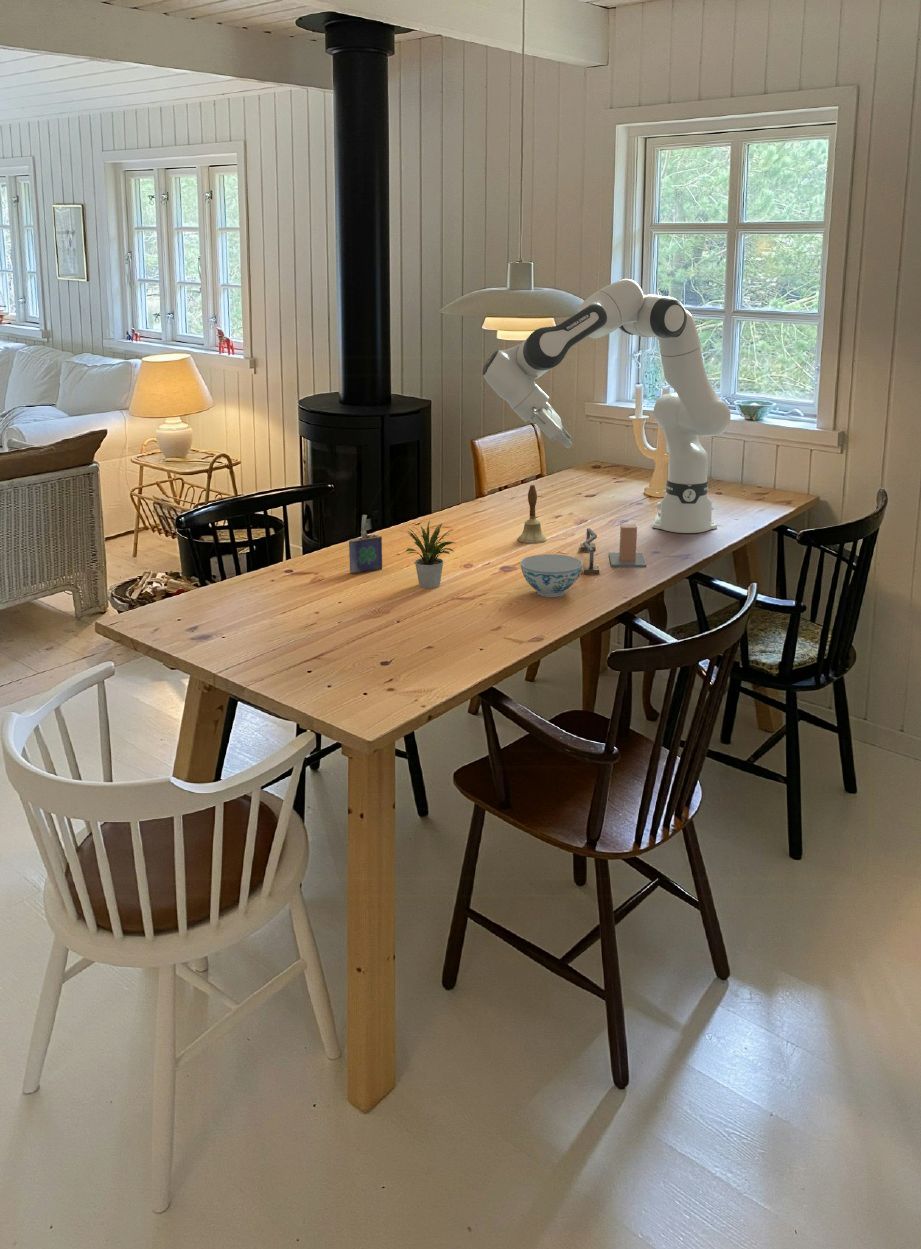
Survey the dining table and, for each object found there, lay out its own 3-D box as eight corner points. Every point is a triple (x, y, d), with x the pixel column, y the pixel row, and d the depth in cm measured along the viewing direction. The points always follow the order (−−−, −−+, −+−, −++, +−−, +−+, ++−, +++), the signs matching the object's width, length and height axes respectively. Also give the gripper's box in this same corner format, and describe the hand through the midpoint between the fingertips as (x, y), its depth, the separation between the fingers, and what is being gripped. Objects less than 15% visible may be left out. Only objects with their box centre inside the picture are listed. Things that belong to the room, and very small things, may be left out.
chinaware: (587, 601, 260) (588, 570, 258) (524, 603, 259) (524, 572, 257) (575, 582, 275) (576, 553, 272) (516, 584, 273) (516, 555, 271)
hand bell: (544, 544, 310) (545, 488, 304) (515, 543, 311) (516, 487, 306) (548, 536, 317) (549, 482, 312) (520, 535, 319) (520, 481, 314)
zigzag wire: (580, 547, 306) (581, 526, 304) (594, 547, 306) (595, 526, 304) (583, 574, 281) (584, 551, 279) (599, 574, 281) (600, 551, 279)
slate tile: (608, 554, 299) (609, 552, 299) (642, 554, 298) (642, 552, 298) (611, 566, 287) (611, 564, 287) (646, 567, 287) (646, 565, 287)
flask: (352, 575, 283) (350, 534, 279) (347, 572, 285) (345, 532, 282) (384, 569, 287) (383, 530, 284) (379, 567, 290) (378, 527, 286)
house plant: (409, 598, 264) (407, 532, 259) (389, 582, 276) (387, 519, 271) (463, 590, 270) (462, 525, 264) (441, 575, 282) (440, 513, 276)
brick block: (619, 556, 295) (620, 523, 292) (634, 556, 294) (635, 524, 291) (620, 560, 291) (621, 527, 288) (635, 560, 291) (637, 527, 288)
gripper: (541, 402, 270) (580, 441, 273) (541, 391, 290) (577, 428, 292) (523, 420, 272) (562, 459, 275) (524, 408, 291) (560, 445, 294)
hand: (570, 443), depth 284 cm, fingers open, 8 cm apart
